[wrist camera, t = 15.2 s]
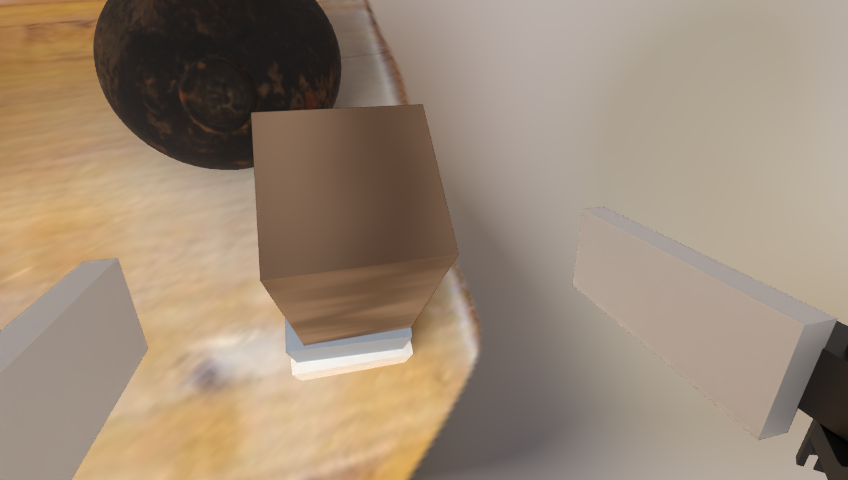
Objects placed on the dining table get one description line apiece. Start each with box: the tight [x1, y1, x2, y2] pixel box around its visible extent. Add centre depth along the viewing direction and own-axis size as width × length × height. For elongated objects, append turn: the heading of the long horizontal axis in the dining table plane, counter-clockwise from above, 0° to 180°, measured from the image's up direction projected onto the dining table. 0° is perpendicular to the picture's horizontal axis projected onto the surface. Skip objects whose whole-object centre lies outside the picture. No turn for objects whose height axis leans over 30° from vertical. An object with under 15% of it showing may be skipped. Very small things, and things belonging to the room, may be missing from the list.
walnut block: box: [251, 104, 459, 346], centre depth 19 cm, size 6×6×12 cm
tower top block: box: [285, 318, 412, 363], centre depth 27 cm, size 7×7×5 cm
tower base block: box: [291, 339, 413, 381], centre depth 31 cm, size 8×8×5 cm
